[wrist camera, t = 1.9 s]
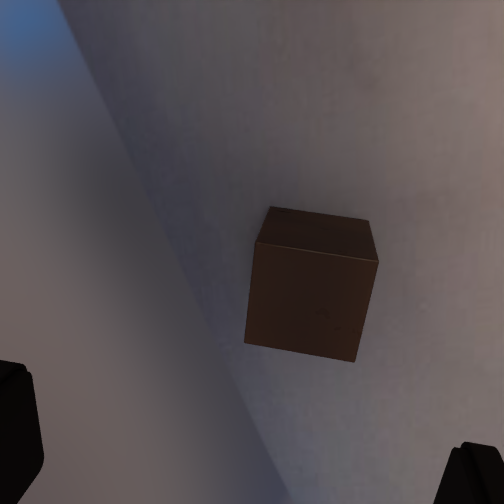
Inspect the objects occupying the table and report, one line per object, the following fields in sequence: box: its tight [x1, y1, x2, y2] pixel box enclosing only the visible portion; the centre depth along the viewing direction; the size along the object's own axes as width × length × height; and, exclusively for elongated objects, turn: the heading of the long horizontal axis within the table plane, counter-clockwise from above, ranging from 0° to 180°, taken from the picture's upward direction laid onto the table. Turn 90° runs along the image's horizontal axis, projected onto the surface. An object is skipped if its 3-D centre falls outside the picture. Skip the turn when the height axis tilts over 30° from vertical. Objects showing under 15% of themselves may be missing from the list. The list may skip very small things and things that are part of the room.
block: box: [244, 207, 379, 362], centre depth 21 cm, size 5×5×5 cm
